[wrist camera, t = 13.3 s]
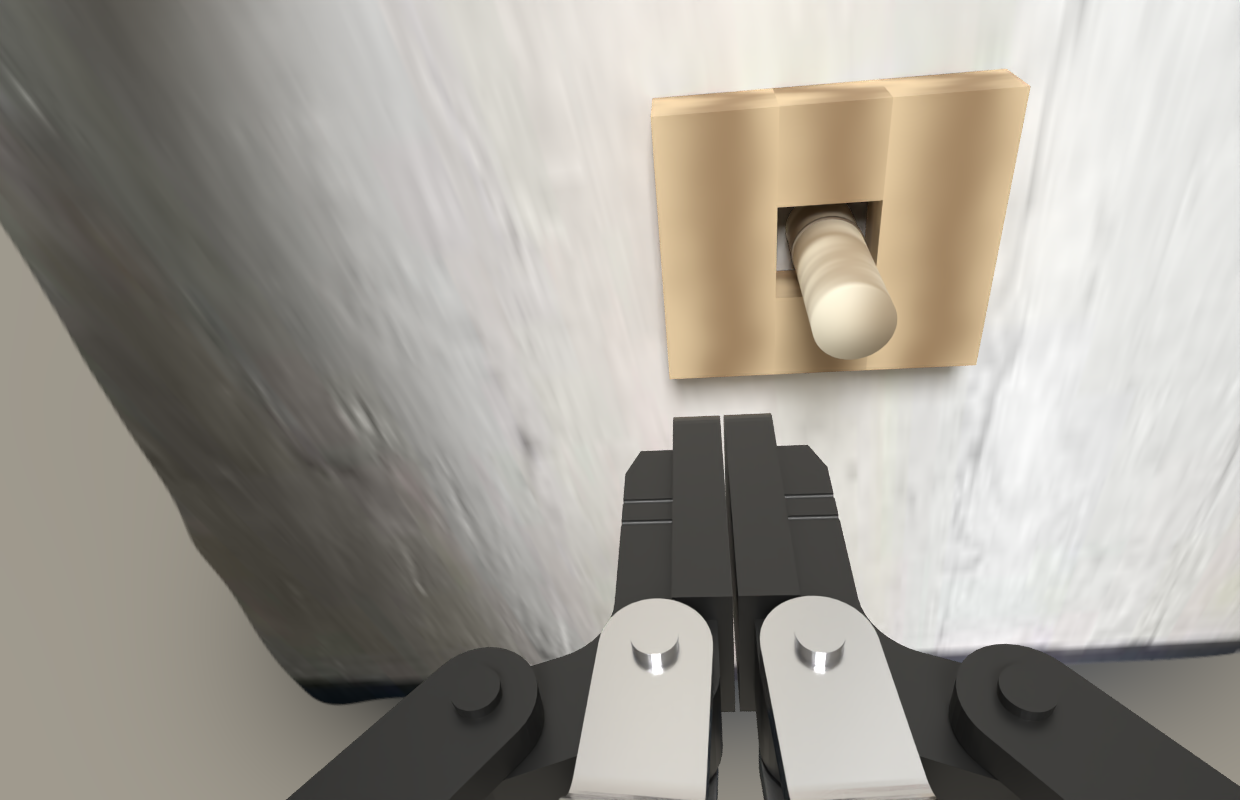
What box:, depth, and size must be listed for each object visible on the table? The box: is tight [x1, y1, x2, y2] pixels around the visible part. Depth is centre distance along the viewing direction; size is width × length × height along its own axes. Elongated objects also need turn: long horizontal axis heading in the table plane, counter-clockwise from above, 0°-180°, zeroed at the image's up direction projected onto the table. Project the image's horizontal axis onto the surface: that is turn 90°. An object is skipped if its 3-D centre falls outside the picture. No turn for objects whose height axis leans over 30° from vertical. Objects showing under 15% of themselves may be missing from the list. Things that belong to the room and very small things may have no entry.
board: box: [651, 69, 1030, 379], centre depth 39 cm, size 16×14×3 cm
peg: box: [786, 203, 897, 360], centre depth 36 cm, size 4×4×10 cm
